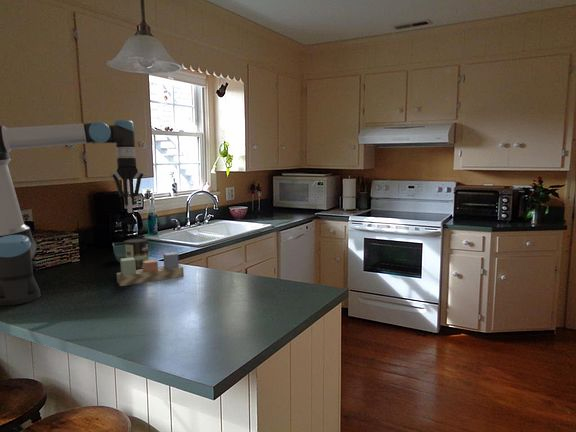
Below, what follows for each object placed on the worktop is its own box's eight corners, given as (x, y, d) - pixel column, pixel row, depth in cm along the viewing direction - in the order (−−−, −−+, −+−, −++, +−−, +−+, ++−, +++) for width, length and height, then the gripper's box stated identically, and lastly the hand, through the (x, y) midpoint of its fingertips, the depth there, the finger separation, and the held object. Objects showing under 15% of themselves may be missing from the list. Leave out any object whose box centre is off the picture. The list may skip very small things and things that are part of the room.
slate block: (167, 271, 189) (166, 255, 188) (164, 268, 193) (163, 253, 192) (178, 269, 192) (178, 253, 191) (175, 267, 196) (174, 251, 195)
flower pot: (113, 260, 226) (112, 243, 225) (131, 258, 230) (130, 241, 229) (114, 263, 218) (113, 245, 217) (133, 261, 222) (132, 244, 221)
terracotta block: (146, 279, 185) (145, 263, 184) (143, 276, 189) (142, 260, 188) (158, 277, 187) (157, 261, 186) (155, 275, 192) (154, 259, 191)
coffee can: (152, 267, 210) (150, 238, 208) (145, 272, 199) (143, 242, 198) (131, 267, 210) (129, 238, 208) (122, 273, 200) (120, 242, 198)
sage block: (123, 277, 180) (122, 261, 179) (121, 275, 184) (120, 258, 183) (136, 275, 182) (135, 259, 181) (133, 273, 187) (132, 257, 186)
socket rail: (120, 286, 178) (119, 276, 178) (117, 282, 184) (116, 273, 184) (183, 276, 192) (183, 267, 191) (178, 272, 198) (178, 264, 197)
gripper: (111, 157, 180) (115, 214, 183) (144, 157, 187) (147, 212, 190) (108, 157, 186) (112, 212, 189) (140, 157, 193) (143, 210, 196)
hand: (130, 212), depth 190 cm, fingers closed
